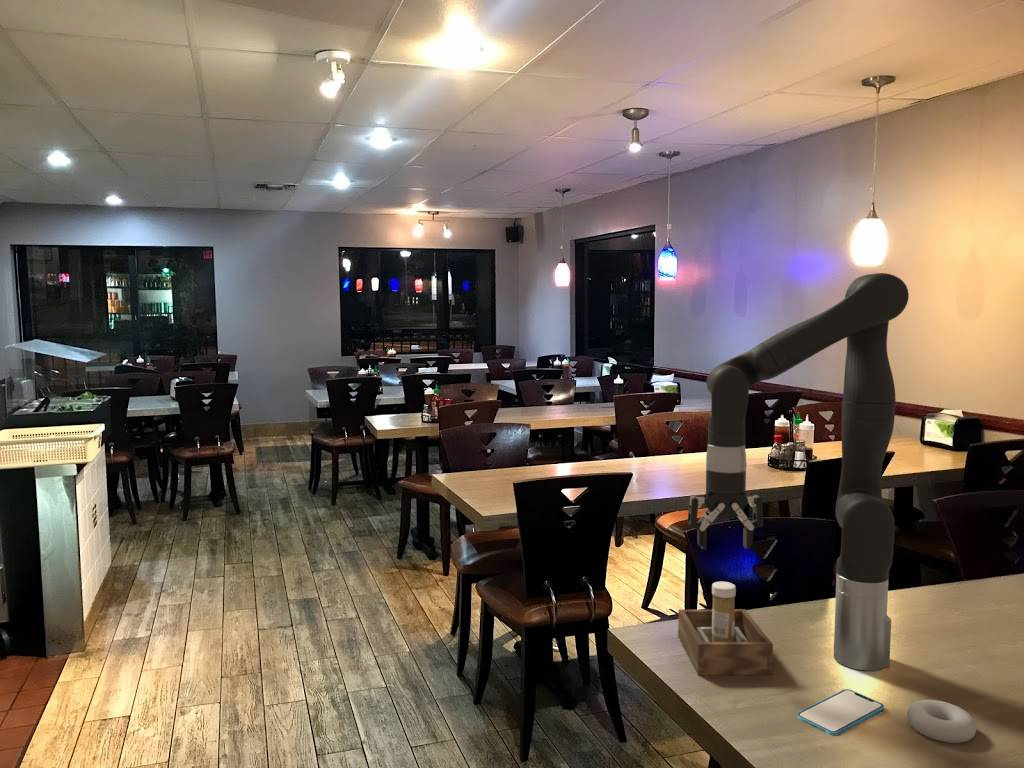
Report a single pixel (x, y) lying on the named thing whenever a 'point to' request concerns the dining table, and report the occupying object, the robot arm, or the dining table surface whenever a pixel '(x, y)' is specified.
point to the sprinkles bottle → (723, 612)
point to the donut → (941, 721)
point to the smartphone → (841, 711)
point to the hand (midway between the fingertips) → (724, 548)
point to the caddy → (725, 645)
